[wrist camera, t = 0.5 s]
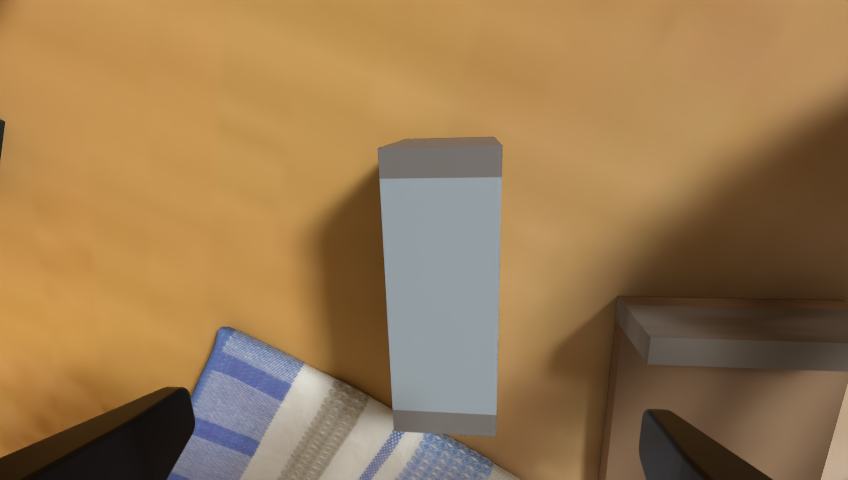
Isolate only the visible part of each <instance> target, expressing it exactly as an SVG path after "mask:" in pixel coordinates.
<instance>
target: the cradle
mask: <svg viewBox="0 0 848 480" xmlns="http://www.w3.org/2000/svg"><path fill="white" fill-rule="evenodd" d="M847 384H848V301H839V300H786V299H732V298H679V297H625V296H618V300H617V309H616V319H615V328H614V338H613V348H612V357H611V367H610V376H609V386H608V396H607V405H606V415H605V424H604V434H603V443H602V453H601V463H600V472H599V480H646V478H645V474H644V471H643V468H642V465H641V461H640V457H639V438H640V430H641V422H642V415H643V413H644V411H645V410H646V409H666V410H670V411H672V412H673V413H675V414H676V415H678V416H679V417H681V418H682V419H684V420H685V421H687V422H688V423H690V424H691V425H693V426H694V427H696V428H697V429H699V430H700V431H702V432H703V433H705V434H706V435H708V436H709V437H711V438H712V439H714V440H715V441H716V442H718V443H719V444H721V445H722V446H724V447H725V448H727V449H728V450H730V451H731V452H733V453H734V454H736V455H737V456H739V457H740V458H742V459H743V460H745V461H746V462H748V463H749V464H751V465H752V466H754V467H755V468H757V469H758V470H760V471H761V472H763V473H764V474H766V475H767V476H769V477H770V478H771V479H773V480H821V476H822V473H823V469H824V465H825V462H826V458H827V455H828V451H829V448H830V444H831V441H832V437H833V433H834V430H835V426H836V423H837V419H838V416H839V412H840V409H841V405H842V401H843V398H844V394H845V391H846V387H847Z"/></svg>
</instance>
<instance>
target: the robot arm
mask: <svg viewBox="0 0 848 480" xmlns="http://www.w3.org/2000/svg"><path fill="white" fill-rule="evenodd" d="M195 422H196V421H195V415H194V411H193V406H192V402H191V397H190V393H189V391H188V390H187V389H186V388H183V387H165V388H162V389H160V390H157V391H155V392H153V393H150V394H148V395H146V396H143V397H141V398H139V399H136V400H134V401H132V402H129V403H127V404H125V405H123V406H120V407H118V408H116V409H113V410H111V411H109V412H106V413H104V414H102V415H99V416H97V417H95V418H92V419H90V420H88V421H85V422H83V423H81V424H78V425H76V426H74V427H71V428H69V429H67V430H64V431H62V432H60V433H57V434H55V435H53V436H50V437H48V438H46V439H43V440H41V441H39V442H36V443H34V444H32V445H29V446H27V447H25V448H23V449H20V450H18V451H16V452H13V453H11V454H9V455H6V456H4V457H2V458H0V480H167V479H168V477H169V475H170V473H171V472H172V470H173V468H174V466H175V464H176V463H177V461H178V459H179V457H180V456H181V454H182V452H183V450H184V449H185V447H186V445H187V443H188V441H189V440H190V438H191V436H192V434H193V432H194V429H195ZM639 457H640V461H641V465H642V468H643V471H644V474H645V478H646V480H773V479H771V478H770V477H769V476H767V475H766V474H764V473H763V472H761V471H760V470H758V469H757V468H755V467H754V466H752V465H751V464H749V463H748V462H746V461H745V460H743V459H742V458H740V457H739V456H737V455H736V454H734V453H733V452H731V451H730V450H728V449H727V448H725V447H724V446H722V445H721V444H719V443H718V442H716V441H715V440H714V439H712V438H711V437H709V436H708V435H706V434H705V433H703V432H702V431H700V430H699V429H697V428H696V427H694V426H693V425H691V424H690V423H688V422H687V421H685V420H684V419H682V418H681V417H679V416H678V415H676V414H675V413H673V412H672V411H670V410H666V409H646V410H645V411H644V413H643V415H642V422H641V430H640V438H639Z"/></svg>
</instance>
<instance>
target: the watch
mask: <svg viewBox="0 0 848 480" xmlns="http://www.w3.org/2000/svg"><path fill="white" fill-rule="evenodd" d="M4 125H5V121H3V120H0V157H1V149H2V141H3V133H4Z"/></svg>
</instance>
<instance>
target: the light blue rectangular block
mask: <svg viewBox="0 0 848 480" xmlns="http://www.w3.org/2000/svg"><path fill="white" fill-rule="evenodd" d="M378 161H379V179H380V197H381V214H382V232H383V249H384V267H385V284H386V302H387V319H388V337H389V354H390V372H391V390H392V407H393V425H394V431H399V432H416V433H434V434H451V435H468V436H486V437H496V417H497V371H498V325H499V279H500V232H501V186H502V144H501V143H500V142H499V141H498V140H497V139H496V138H495V137H470V138H428V139H405V140H401V141H398V142H395V143H392V144H389V145H386V146H383V147H380V148H378Z"/></svg>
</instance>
